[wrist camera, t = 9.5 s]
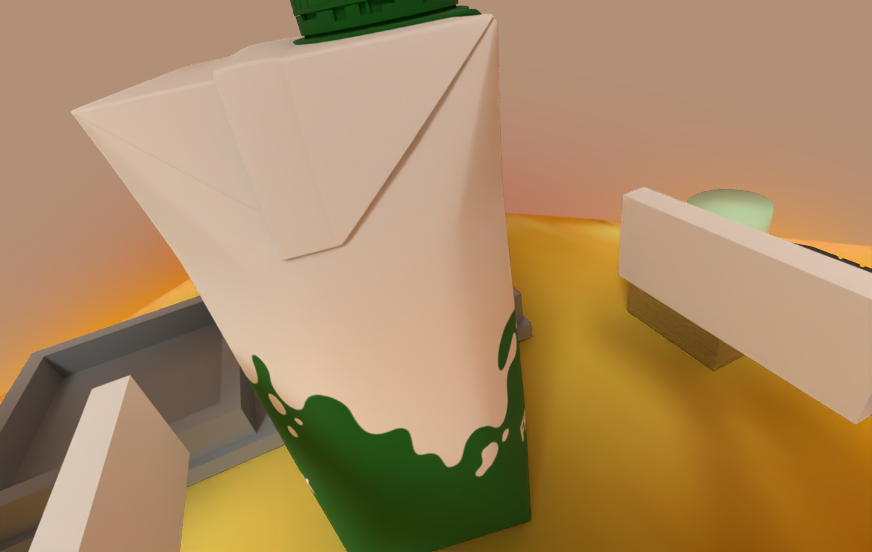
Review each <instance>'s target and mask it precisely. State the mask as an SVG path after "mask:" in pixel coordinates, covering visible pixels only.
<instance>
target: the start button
mask: <svg viewBox="0 0 872 552" xmlns="http://www.w3.org/2000/svg"><path fill="white" fill-rule="evenodd" d="M688 204H691V205H693V206H696V207H699V208H701V209H704V210H707V211H709V212H712V213H714V214H717V215H720V216H722V217H725V218H728V219H730V220H733V221H736V222H738V223H741V224H744V225H746V226H749V227H751V228H754V229H757V230H759V231H762V232H765V233H767V234H768V231H769V227H770V223H771V219H772V216H773V211H774V204H773V202H772V201H771V200H769V199H768V198H766V197H764V196H762V195H760V194H757V193H753V192H749V191H743V190H734V189H719V190H710V191H705V192H701V193H698V194H696V195H694V196H692V197H691V198H690V199H689V200H688Z"/></svg>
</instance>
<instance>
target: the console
mask: <svg viewBox="0 0 872 552" xmlns="http://www.w3.org/2000/svg"><path fill="white" fill-rule="evenodd" d="M627 311H629V312H630V313H631V314H633V315H634V316H636V317H637V318H639V319H640V320H641V321H643V322H644V323H646V324H647V325H649V326H650V327H651V328H653V329H654V330H656V331H657V332H659V333H660V334H661V335H663V336H664V337H666V338H667V339H669V340H670V341H671V342H673V343H674V344H676V345H677V346H679V347H680V348H682V349H683V350H684V351H686V352H687V353H689V354H690V355H692V356H693V357H694V358H696V359H697V360H699V361H700V362H702V363H703V364H704V365H706V366H707V367H709V368H710V369H712V370H713V371H714V370H716V369H718V368H720V367H722V366H724V365H726V364H728V363H730V362H732V361H734V360H735V359H737V358H739V357H741V356H743V355H744V354H743V353H741V352H739V351H738V350H736V349H735V348H733V347H732V346H730V345H728V344H727V343H725V342H724V341H722V340H721V339H719V338H717V337H716V336H714V335H713V334H711V333H709V332H708V331H706V330H705V329H703V328H702V327H700V326H698V325H697V324H695V323H694V322H692V321H690V320H689V319H687V318H686V317H684V316H683V315H681V314H679V313H678V312H676V311H675V310H673V309H671V308H670V307H668V306H667V305H665V304H664V303H662V302H660V301H659V300H657V299H656V298H654V297H652V296H651V295H649V294H648V293H646V292H645V291H643V290H641V289H640V288H638V287H637V286H635V285H633V284H632V283H630V282H629V294H628V309H627Z"/></svg>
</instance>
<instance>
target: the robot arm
mask: <svg viewBox="0 0 872 552" xmlns="http://www.w3.org/2000/svg"><path fill="white" fill-rule="evenodd" d="M618 275H619V276H621V277H622V278H624V279H626V280H627V281H629V282H630V283H632V284H633V285H635V286H637V287H638V288H640V289H641V290H643V291H645V292H646V293H648V294H649V295H651V296H652V297H654V298H656V299H657V300H659V301H660V302H662V303H664V304H665V305H667V306H668V307H670V308H671V309H673V310H675V311H676V312H678V313H679V314H681V315H683V316H684V317H686V318H687V319H689V320H690V321H692V322H694V323H695V324H697V325H698V326H700V327H702V328H703V329H705V330H706V331H708V332H709V333H711V334H713V335H714V336H716V337H717V338H719V339H721V340H722V341H724V342H725V343H727V344H728V345H730V346H732V347H733V348H735V349H736V350H738V351H739V352H741V353H743V354H744V355H746V356H747V357H749V358H751V359H752V360H754V361H755V362H757V363H758V364H760V365H762V366H763V367H765V368H766V369H768V370H770V371H771V372H773V373H774V374H776V375H777V376H779V377H781V378H782V379H784V380H785V381H787V382H789V383H790V384H792V385H793V386H795V387H796V388H798V389H800V390H801V391H803V392H804V393H806V394H808V395H809V396H811V397H812V398H814V399H815V400H817V401H819V402H820V403H822V404H823V405H825V406H827V407H828V408H830V409H831V410H833V411H834V412H836V413H838V414H839V415H841V416H842V417H844V418H845V419H847V420H849V421H850V422H852V423H853V424H855V425H856V424H858V423H859V422H861V421H863V420H864V419H866V418H868V417H869V416H871V415H872V269H871V268H868V267H863V268H862V267H860V264H857V263H855V262H852V261H849V260H847V259H844V258H843V259H839V258H838V256H836V255H833V254H831V253H828V252H825V251H822V250H820V249H817V248H814V247H811V246H806V245H801V244H796V243H791V242H788V241H786V240H783V239H780V238H778V237H775V236H772V235H770V234H767V233H765V232H762V231H759V230H757V229H754V228H751V227H749V226H746V225H744V224H741V223H738V222H736V221H733V220H730V219H728V218H725V217H722V216H720V215H717V214H714V213H712V212H709V211H707V210H704V209H701V208H699V207H696V206H693V205H691V204H688V203H685V202H683V201H680V200H678V199H675V198H672V197H669V196H667V195H664V194H662V193H659V192H656V191H654V190H651V189H649V188H646V187H643V188H640V189H637V190H635V191H632V192H629V193H626V194H623V198H622V216H621V233H620V252H619V271H618ZM189 455H190V453H189V451H188V450H187V449H186V447H185V446H184V445H183V444H182V442H181V441H180V440H179V438H178V437H177V436H176V434H175V433H174V432H173V430H172V429H171V428H170V427H169V425H168V424H167V423H166V421H165V420H164V419H163V417H162V416H161V415H160V413H159V412H158V411H157V409H156V408H155V407H154V406H153V404H152V403H151V402H150V400H149V399H148V398H147V396H146V395H145V394H144V392H143V391H142V390H141V388H140V387H139V386H138V385H137V383H136V382H135V381H134V379H133V378H132V377H131V375H129V376H126V377H124V378H121V379H118V380H115V381H113V382H110V383H107V384H104V385H102V386H99V387H96V388H94V389H92V390H91V393H90V395H89V398H88V400H87V403H86V405H85V408H84V411H83V413H82V416H81V418H80V421H79V423H78V426H77V429H76V431H75V434H74V436H73V439H72V441H71V444H70V446H69V449H68V452H67V454H66V457H65V459H64V462H63V464H62V467H61V470H60V472H59V475H58V477H57V480H56V482H55V485H54V488H53V490H52V493H51V495H50V498H49V500H48V503H47V505H46V508H45V511H44V513H43V516H42V518H41V521H40V523H39V526H38V529H37V531H36V534H35V536H34V539H33V541H32V544H31V546H30V549H29V552H180V546H181V536H182V526H183V516H184V506H185V496H186V485H187V475H188V465H189Z"/></svg>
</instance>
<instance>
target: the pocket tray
mask: <svg viewBox="0 0 872 552" xmlns="http://www.w3.org/2000/svg"><path fill="white" fill-rule="evenodd" d="M513 294H514V304H515V314H516V324H517V333H518V342H520V341H522V340H525V339H527V338H529V337H531V336H532V324H531V322H530V321H528V320H527V319H526V318H525V317H524V316H523V312H522V301H521V293H519V292H518V291H517V290H516V289H515V288H514V287H513ZM129 375H131V377H132V378H133V379H134V381H135V382H136V383H137V385H138V386H139V387H140V388H141V390H142V391H143V392H144V394H145V395H146V396H147V398H148V399H149V400H150V402H151V403H152V404H153V406H154V407H155V408H156V409H157V411H158V412H159V413H160V415H161V416H162V417H163V419H164V420H165V421H166V423H167V424H168V425H169V427H170V428H171V429H172V430H173V432H174V433H175V434H176V436H177V437H178V438H179V440H180V441H181V442H182V444H183V445H184V446H185V447H186V449H187V450H188V451H189V453H190V455H189V465H188V475H187V485H186V487H188V486H191V485H193V484H195V483H198V482H200V481H202V480H204V479H207V478H209V477H211V476H214V475H216V474H218V473H220V472H223V471H225V470H227V469H230V468H232V467H234V466H236V465H239V464H241V463H243V462H246V461H248V460H250V459H252V458H255V457H257V456H259V455H262V454H264V453H266V452H268V451H271V450H273V449H275V448H278V447H280V446H282V445H284V442H283V440H282V438H281V437H280V435H279V433H278V431H277V430H276V428H275V426H274V424H273V423H272V421H271V419H270V417H269V416H268V414H267V412H266V410H265V408H264V407H263V405H262V403H261V401H260V400H259V398H258V396H257V394H256V393H255V391H254V389H253V387H252V386H251V384H250V382H249V380H248V379H247V377H246V375H245V373H244V372H243V370H242V368H241V366H240V365H239V363H238V361H237V359H236V358H235V356H234V354H233V352H232V351H231V349H230V347H229V345H228V344H227V342H226V340H225V338H224V337H223V335H222V333H221V331H220V329H219V328H218V326H217V324H216V322H215V321H214V319H213V317H212V315H211V314H210V312H209V310H208V308H207V307H206V305H205V303H204V301H203V300H202V298H201V296H198V297H195V298H192V299H189V300H186V301H183V302H180V303H177V304H174V305H171V306H169V307H166V308H163V309H160V310H157V311H154V312H151V313H148V314H145V315H142V316H139V317H136V318H134V319H131V320H128V321H125V322H122V323H119V324H116V325H113V326H110V327H107V328H104V329H101V330H99V331H96V332H93V333H90V334H87V335H84V336H81V337H78V338H75V339H72V340H69V341H67V342H64V343H61V344H58V345H55V346H52V347H49V348H46V349H43V350H40V351H37V352H34V353H32V354H31V356H30V358H29V359H28V361H27V362H26V364H25V366H24V367H23V369H22V371H21V372H20V374H19V375H18V377H17V379H16V380H15V382H14V384H13V385H12V387H11V389H10V390H9V392H8V393H7V395H6V397H5V398H4V400H3V402H2V403H1V405H0V552H29V549H30V546H31V544H32V541H33V539H34V536H35V534H36V531H37V529H38V526H39V523H40V521H41V518H42V516H43V513H44V511H45V508H46V505H47V503H48V500H49V498H50V495H51V493H52V490H53V488H54V485H55V482H56V480H57V477H58V475H59V472H60V470H61V467H62V464H63V462H64V459H65V457H66V454H67V452H68V449H69V446H70V444H71V441H72V439H73V436H74V434H75V431H76V429H77V426H78V423H79V421H80V418H81V416H82V413H83V411H84V408H85V405H86V403H87V400H88V398H89V395H90V393H91V390H92V389H94V388H96V387H99V386H102V385H104V384H107V383H110V382H113V381H115V380H118V379H121V378H124V377H126V376H129Z"/></svg>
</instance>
